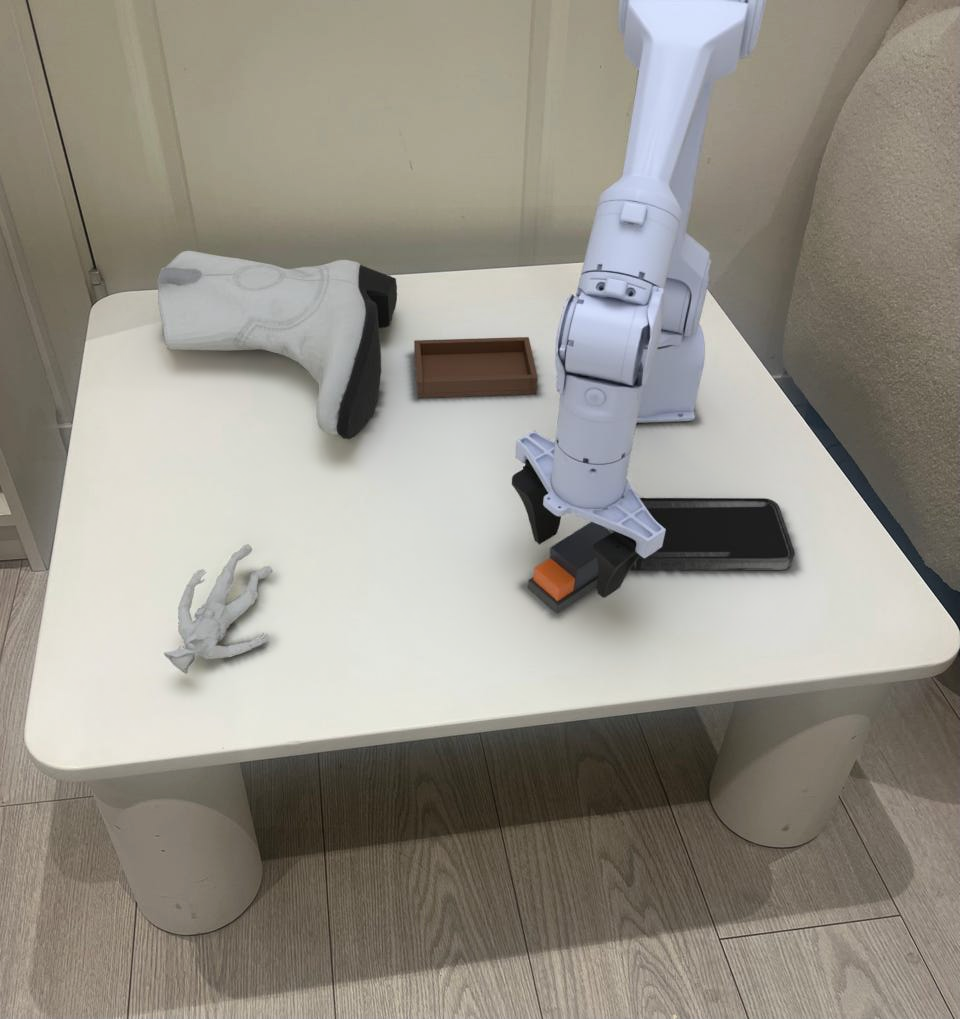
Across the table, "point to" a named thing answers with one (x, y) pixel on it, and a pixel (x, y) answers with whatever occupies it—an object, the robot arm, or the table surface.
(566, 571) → the stepped block
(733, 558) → the phone
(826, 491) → the table surface
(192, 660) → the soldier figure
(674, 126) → the robot arm
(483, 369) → the rectangular tray
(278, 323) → the cowboy boot
